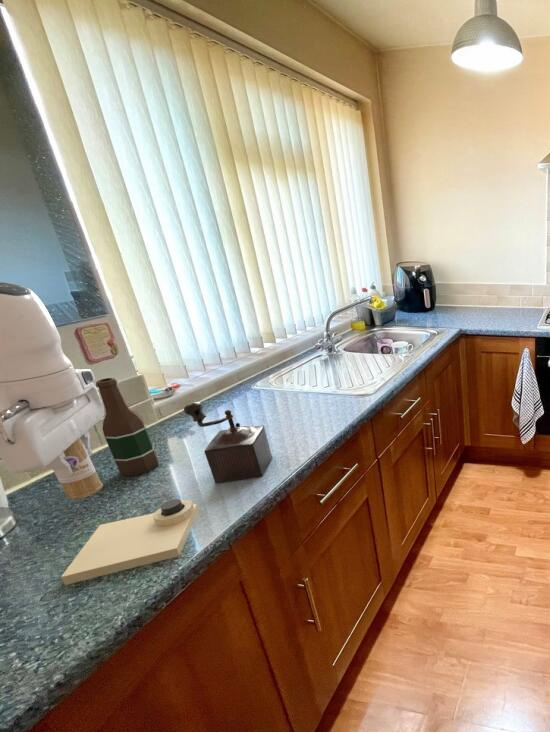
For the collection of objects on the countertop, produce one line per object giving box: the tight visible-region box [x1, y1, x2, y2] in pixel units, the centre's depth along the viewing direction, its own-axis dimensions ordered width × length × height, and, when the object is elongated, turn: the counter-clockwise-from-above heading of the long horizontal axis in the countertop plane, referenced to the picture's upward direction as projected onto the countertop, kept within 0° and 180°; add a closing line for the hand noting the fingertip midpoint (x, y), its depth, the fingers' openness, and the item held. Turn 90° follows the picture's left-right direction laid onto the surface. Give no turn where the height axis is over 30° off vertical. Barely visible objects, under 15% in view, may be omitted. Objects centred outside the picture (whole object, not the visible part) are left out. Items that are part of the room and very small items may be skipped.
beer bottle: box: [95, 377, 159, 477], centre depth 97 cm, size 8×8×24 cm
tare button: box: [160, 498, 183, 516], centre depth 81 cm, size 3×3×2 cm
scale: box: [60, 499, 200, 586], centre depth 77 cm, size 16×14×4 cm
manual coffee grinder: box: [183, 400, 273, 485], centre depth 97 cm, size 16×11×18 cm
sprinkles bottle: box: [54, 420, 104, 500], centre depth 66 cm, size 5×5×14 cm
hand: (76, 466), depth 67 cm, fingers closed on sprinkles bottle, 4 cm apart
